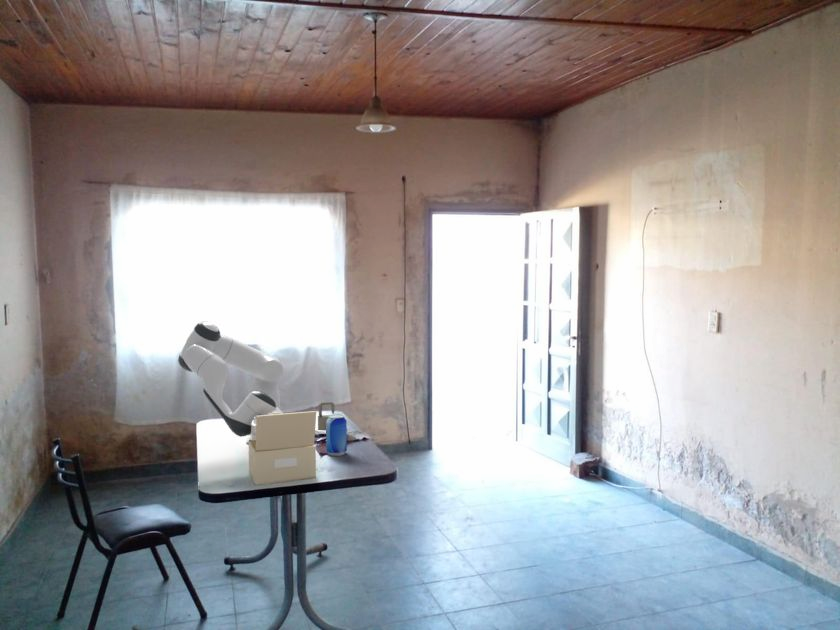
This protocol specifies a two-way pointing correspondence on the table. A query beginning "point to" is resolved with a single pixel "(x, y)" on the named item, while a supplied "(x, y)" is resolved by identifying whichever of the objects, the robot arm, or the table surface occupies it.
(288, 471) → the carton
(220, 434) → the table surface
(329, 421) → the beer can
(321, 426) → the padlock
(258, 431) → the carton flap
